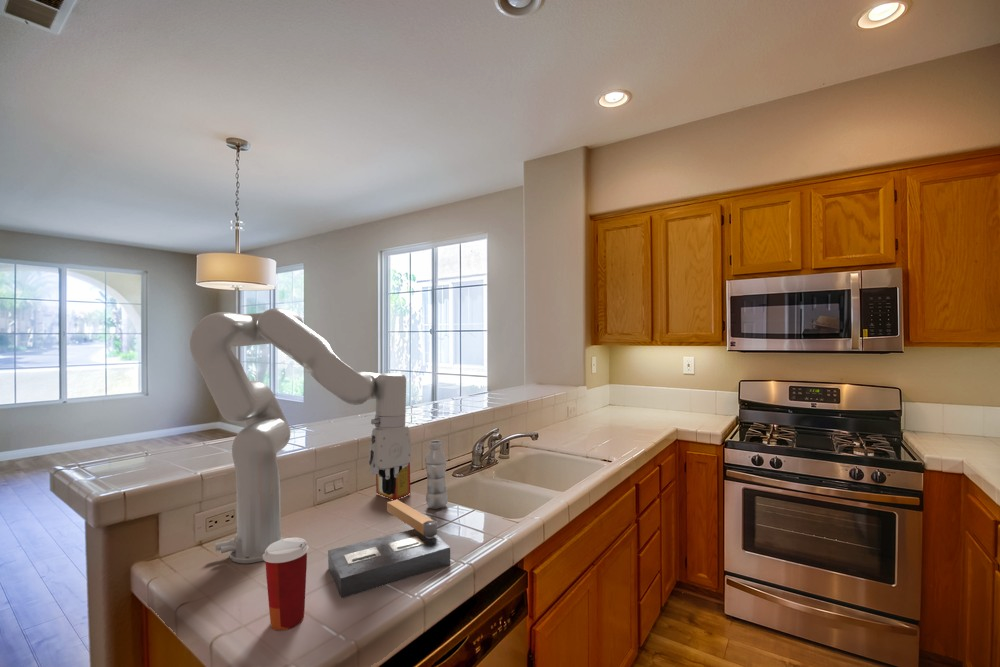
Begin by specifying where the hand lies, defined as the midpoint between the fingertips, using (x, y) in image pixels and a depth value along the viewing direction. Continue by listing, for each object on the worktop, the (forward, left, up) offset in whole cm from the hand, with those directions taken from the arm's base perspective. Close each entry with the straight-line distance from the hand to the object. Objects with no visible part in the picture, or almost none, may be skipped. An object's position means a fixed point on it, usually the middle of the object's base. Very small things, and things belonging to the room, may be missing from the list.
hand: (388, 492), depth 115 cm
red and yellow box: (+11, +33, -13) cm, 37 cm away
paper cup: (-26, -21, -13) cm, 36 cm away
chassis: (-4, -12, -12) cm, 18 cm away
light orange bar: (+5, -3, -7) cm, 9 cm away
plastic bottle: (+19, +15, -13) cm, 27 cm away
